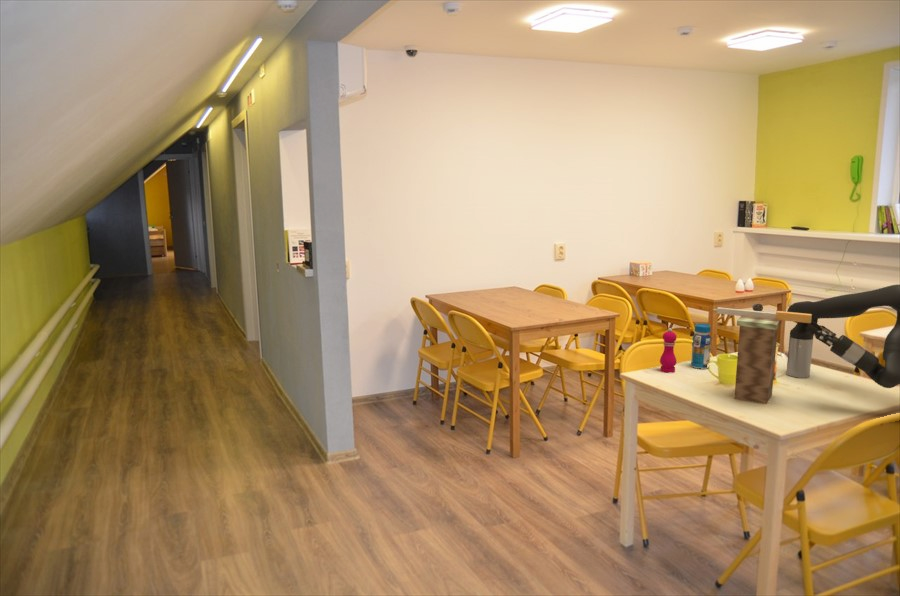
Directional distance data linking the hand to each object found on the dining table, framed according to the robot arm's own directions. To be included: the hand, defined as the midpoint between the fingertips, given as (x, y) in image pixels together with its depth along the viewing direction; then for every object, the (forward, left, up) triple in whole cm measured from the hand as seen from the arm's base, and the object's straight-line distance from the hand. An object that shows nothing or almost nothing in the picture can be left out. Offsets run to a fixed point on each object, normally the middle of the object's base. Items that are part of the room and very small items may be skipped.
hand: (807, 324), depth 253 cm
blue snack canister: (-45, -28, -31) cm, 61 cm away
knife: (-7, -15, +1) cm, 17 cm away
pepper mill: (-37, -44, -31) cm, 65 cm away
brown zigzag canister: (-4, -16, -31) cm, 35 cm away
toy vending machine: (-59, 0, -31) cm, 67 cm away
